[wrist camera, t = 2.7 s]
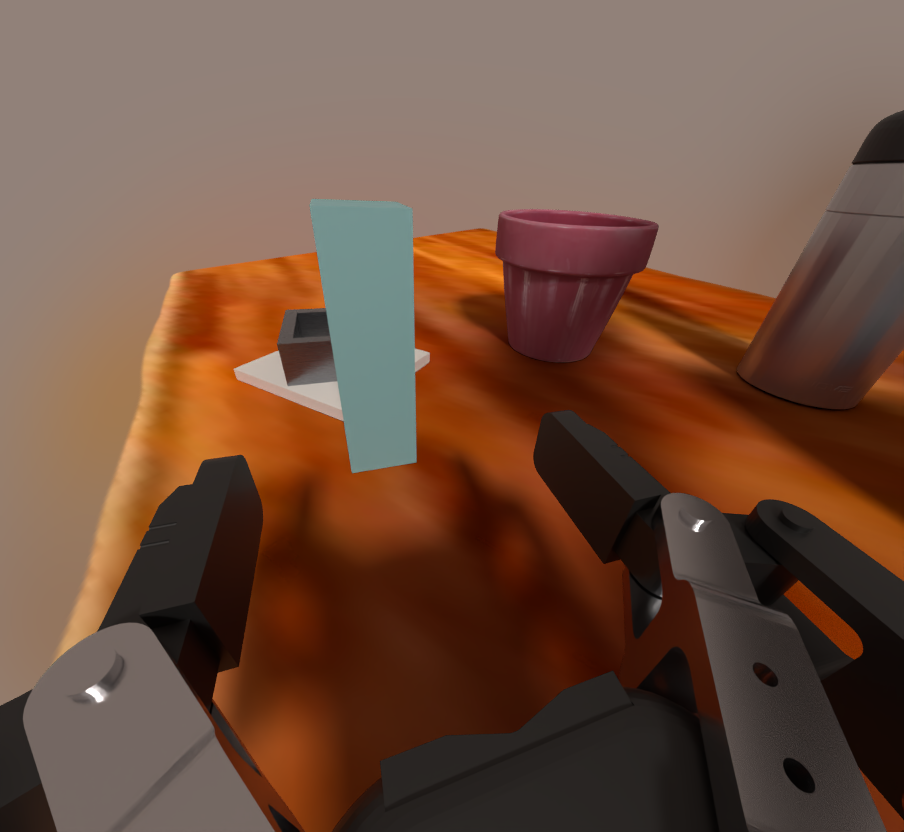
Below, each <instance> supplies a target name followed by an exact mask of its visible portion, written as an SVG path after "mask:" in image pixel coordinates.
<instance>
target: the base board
mask: <svg viewBox="0 0 904 832" xmlns="http://www.w3.org/2000/svg"><path fill="white" fill-rule="evenodd" d="M429 362H430V353H429V352H425V351H422V350H418V349H415V372H416V371H418V370H419V369H420V368H422V367H423V366H425V365H426V364H428V363H429ZM234 372H235V375H236V377H237V380H240V381H242V382H245V383H247V384H250V385H253V386H255V387H258V388H260V389H263V390H265V391H268V392H270V393H273V394H275V395H278V396H280V397H283V398H286V399H288V400H291V401H293V402H296V403H298V404H301V405H303V406H306V407H308V408H311V409H313V410H316V411H318V412H321V413H324V414H326V415H329V416H331V417H334V418H336V419H339V420H341V421H344V420H343V413H342V407H341V401H340V395H339V388H338V382H337V381H336V382H326V383H315V384H305V385H295V386H287V382H286V378H285V374H284V370H283V366H282V362H281V358H280V354H279V351H276V352H274V353H271V354H269V355H267V356H264V357H262V358H259V359H257V360H254V361H252V362H249V363H247V364H244V365H242V366H240V367H237V368H235V369H234Z"/></svg>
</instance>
